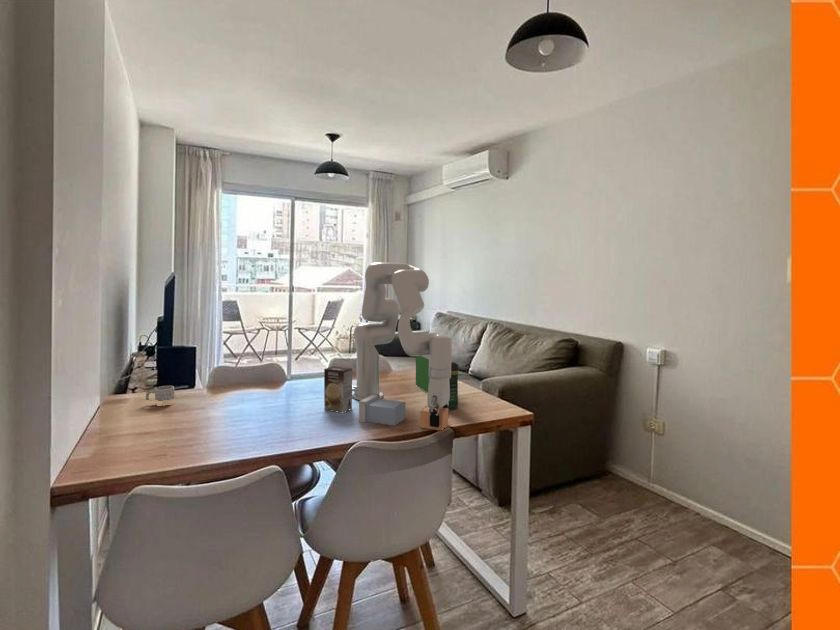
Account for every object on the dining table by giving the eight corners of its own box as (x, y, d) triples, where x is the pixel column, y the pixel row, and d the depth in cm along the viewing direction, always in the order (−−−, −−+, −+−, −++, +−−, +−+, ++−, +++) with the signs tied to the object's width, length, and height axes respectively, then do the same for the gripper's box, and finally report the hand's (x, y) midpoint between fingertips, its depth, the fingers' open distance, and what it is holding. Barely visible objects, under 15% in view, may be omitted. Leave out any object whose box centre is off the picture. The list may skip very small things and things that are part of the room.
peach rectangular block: (420, 427, 155) (420, 410, 154) (426, 422, 160) (426, 405, 160) (442, 430, 152) (442, 413, 151) (448, 425, 157) (448, 408, 157)
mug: (176, 401, 184) (175, 385, 184) (173, 405, 178) (172, 389, 178) (148, 403, 181) (147, 386, 181) (143, 408, 175) (143, 391, 174)
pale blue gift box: (357, 421, 161) (357, 401, 160) (372, 412, 171) (372, 393, 170) (393, 426, 156) (393, 406, 155) (406, 417, 166) (406, 398, 165)
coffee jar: (461, 409, 176) (461, 361, 175) (442, 411, 173) (442, 363, 172) (450, 402, 185) (451, 357, 184) (432, 404, 182) (433, 358, 181)
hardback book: (446, 392, 201) (446, 338, 199) (430, 394, 198) (431, 339, 196) (430, 383, 217) (430, 333, 215) (415, 385, 214) (415, 334, 212)
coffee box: (323, 410, 174) (322, 368, 172) (333, 405, 180) (333, 365, 178) (343, 413, 170) (343, 371, 169) (353, 408, 176) (352, 367, 174)
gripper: (438, 367, 163) (437, 413, 164) (419, 376, 147) (419, 428, 148) (458, 368, 160) (457, 416, 162) (441, 379, 144) (441, 431, 146)
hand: (439, 422), depth 155 cm, fingers open, 9 cm apart
